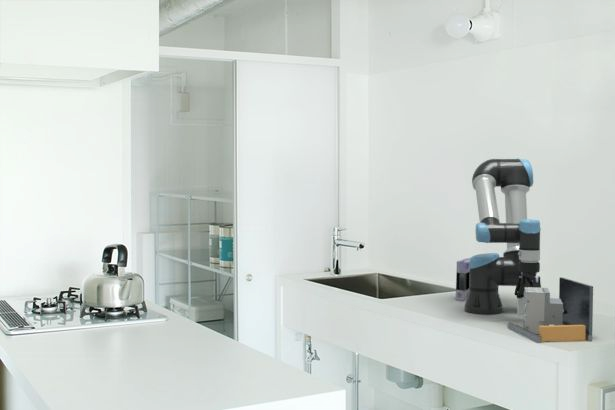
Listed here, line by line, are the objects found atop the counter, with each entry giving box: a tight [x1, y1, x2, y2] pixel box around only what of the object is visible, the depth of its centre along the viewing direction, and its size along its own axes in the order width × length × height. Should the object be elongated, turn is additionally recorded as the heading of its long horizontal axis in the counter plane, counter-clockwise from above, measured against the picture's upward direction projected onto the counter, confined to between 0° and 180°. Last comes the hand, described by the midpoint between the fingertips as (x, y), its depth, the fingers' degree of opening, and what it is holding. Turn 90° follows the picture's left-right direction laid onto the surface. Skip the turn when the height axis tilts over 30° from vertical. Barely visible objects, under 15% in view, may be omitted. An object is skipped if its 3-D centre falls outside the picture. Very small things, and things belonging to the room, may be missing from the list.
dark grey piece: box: [507, 277, 594, 344], centre depth 270 cm, size 25×21×18 cm
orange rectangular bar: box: [539, 325, 586, 343], centre depth 259 cm, size 2×16×5 cm, turn 98°
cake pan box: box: [455, 257, 471, 302], centre depth 346 cm, size 19×5×18 cm, turn 147°
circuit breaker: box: [522, 287, 567, 335], centre depth 271 cm, size 8×14×15 cm, turn 79°
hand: (528, 318), depth 285 cm, fingers open, 13 cm apart
